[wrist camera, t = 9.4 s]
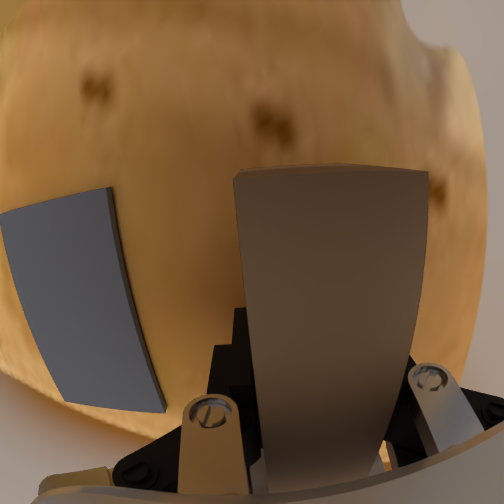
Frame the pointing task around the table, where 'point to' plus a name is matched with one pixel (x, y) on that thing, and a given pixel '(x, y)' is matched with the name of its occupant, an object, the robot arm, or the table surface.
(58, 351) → the mat
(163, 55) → the table surface
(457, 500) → the robot arm
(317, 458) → the scraper
